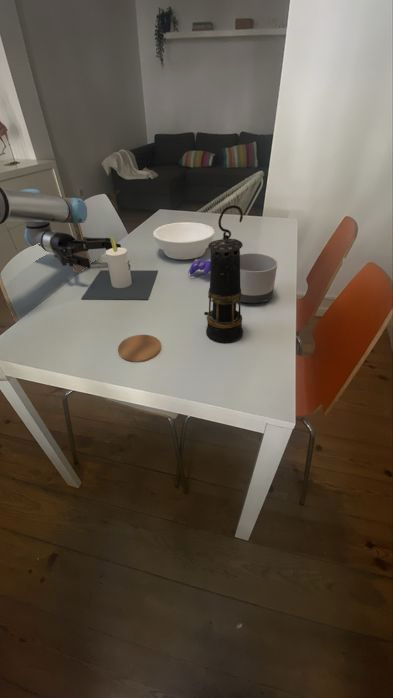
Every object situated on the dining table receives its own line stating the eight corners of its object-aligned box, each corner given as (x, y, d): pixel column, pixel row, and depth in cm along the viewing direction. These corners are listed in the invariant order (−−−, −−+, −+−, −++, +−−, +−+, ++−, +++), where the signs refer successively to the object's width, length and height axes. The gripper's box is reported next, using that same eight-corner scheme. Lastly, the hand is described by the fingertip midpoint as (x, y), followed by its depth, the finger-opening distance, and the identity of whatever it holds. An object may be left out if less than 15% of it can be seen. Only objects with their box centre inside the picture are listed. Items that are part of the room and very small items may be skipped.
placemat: (81, 299, 94) (80, 298, 94) (100, 271, 110) (100, 270, 109) (148, 300, 93) (147, 299, 93) (158, 271, 109) (157, 270, 108)
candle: (130, 288, 98) (122, 239, 89) (109, 288, 99) (99, 240, 89) (134, 279, 103) (127, 232, 94) (114, 279, 104) (105, 232, 94)
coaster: (113, 361, 71) (113, 360, 71) (123, 335, 79) (123, 334, 79) (157, 362, 70) (157, 361, 70) (163, 336, 78) (163, 334, 78)
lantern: (202, 325, 82) (200, 200, 63) (235, 320, 83) (244, 196, 65) (211, 346, 75) (212, 212, 56) (248, 340, 76) (261, 208, 58)
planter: (274, 288, 97) (279, 255, 90) (269, 309, 87) (274, 274, 81) (233, 283, 100) (235, 251, 94) (223, 303, 90) (225, 268, 84)
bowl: (164, 241, 131) (163, 220, 126) (218, 244, 128) (219, 223, 122) (147, 263, 114) (144, 240, 109) (209, 267, 110) (209, 243, 105)
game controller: (178, 266, 102) (197, 251, 106) (188, 288, 106) (206, 273, 111) (199, 266, 95) (219, 249, 99) (209, 289, 99) (227, 272, 104)
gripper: (90, 243, 118) (133, 254, 109) (31, 267, 102) (76, 282, 93) (86, 222, 114) (130, 232, 104) (23, 244, 97) (69, 257, 88)
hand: (105, 255), depth 98 cm, fingers open, 13 cm apart
